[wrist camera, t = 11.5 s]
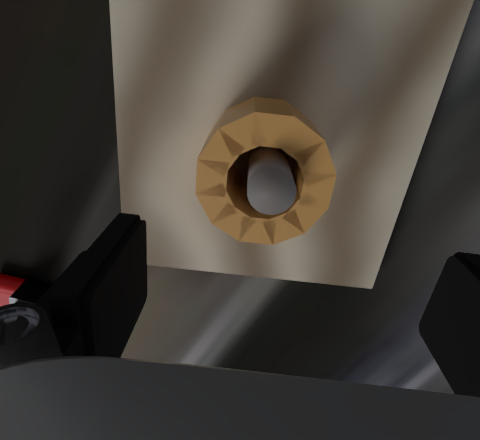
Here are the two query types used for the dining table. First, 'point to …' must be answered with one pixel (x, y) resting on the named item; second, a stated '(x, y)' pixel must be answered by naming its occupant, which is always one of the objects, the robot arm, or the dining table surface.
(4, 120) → the dining table surface
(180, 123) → the post base
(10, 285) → the tow hook
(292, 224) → the collar
